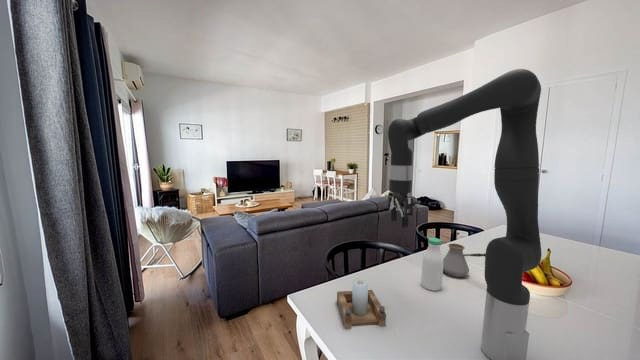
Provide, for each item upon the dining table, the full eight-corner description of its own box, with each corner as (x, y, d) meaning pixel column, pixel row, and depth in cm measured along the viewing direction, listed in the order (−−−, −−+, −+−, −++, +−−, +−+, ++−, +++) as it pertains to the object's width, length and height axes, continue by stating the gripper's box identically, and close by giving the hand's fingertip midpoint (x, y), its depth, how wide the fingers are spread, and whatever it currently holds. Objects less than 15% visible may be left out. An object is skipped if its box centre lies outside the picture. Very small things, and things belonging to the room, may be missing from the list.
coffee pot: (434, 269, 120) (436, 238, 118) (452, 265, 124) (454, 235, 122) (477, 293, 100) (481, 257, 98) (497, 288, 105) (501, 252, 103)
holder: (385, 325, 81) (386, 309, 80) (345, 328, 80) (345, 311, 79) (371, 299, 95) (372, 285, 94) (336, 301, 93) (337, 287, 93)
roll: (369, 315, 85) (369, 285, 84) (353, 315, 84) (353, 286, 83) (365, 305, 90) (366, 277, 89) (351, 306, 90) (351, 278, 89)
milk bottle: (443, 292, 101) (447, 243, 98) (423, 290, 102) (426, 241, 100) (438, 282, 108) (442, 236, 106) (419, 280, 110) (422, 235, 107)
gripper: (421, 180, 82) (419, 229, 84) (401, 176, 96) (399, 218, 98) (399, 180, 81) (397, 230, 83) (382, 176, 95) (380, 219, 97)
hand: (398, 224), depth 91 cm, fingers open, 8 cm apart
